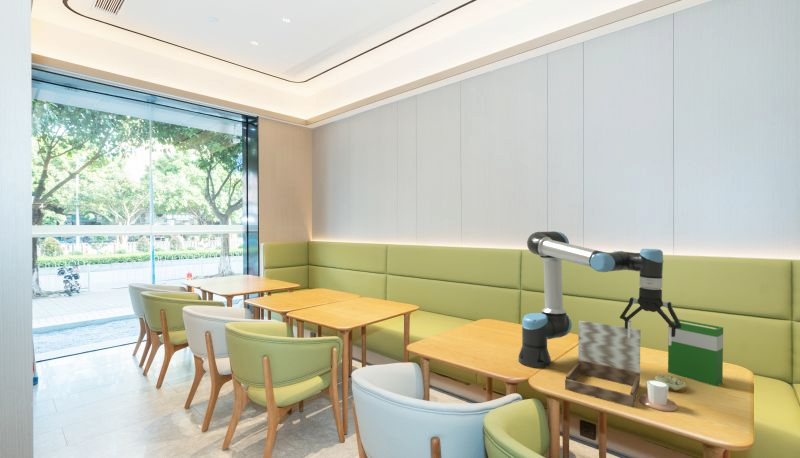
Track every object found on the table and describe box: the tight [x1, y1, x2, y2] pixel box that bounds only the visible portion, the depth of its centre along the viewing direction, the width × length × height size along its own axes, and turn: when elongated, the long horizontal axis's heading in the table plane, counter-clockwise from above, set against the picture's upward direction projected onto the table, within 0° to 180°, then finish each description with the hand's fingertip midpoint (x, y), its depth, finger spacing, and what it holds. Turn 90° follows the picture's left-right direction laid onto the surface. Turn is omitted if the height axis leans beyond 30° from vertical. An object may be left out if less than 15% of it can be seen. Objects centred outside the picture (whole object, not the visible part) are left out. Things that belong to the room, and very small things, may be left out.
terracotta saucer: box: [638, 393, 678, 412], centre depth 141 cm, size 12×12×1 cm
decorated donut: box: [653, 374, 687, 393], centre depth 155 cm, size 10×11×4 cm
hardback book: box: [667, 318, 724, 387], centre depth 165 cm, size 18×7×24 cm, turn 33°
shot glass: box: [646, 379, 669, 405], centre depth 141 cm, size 7×7×7 cm
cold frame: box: [564, 320, 641, 408], centre depth 154 cm, size 24×23×24 cm
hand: (648, 340), depth 147 cm, fingers open, 13 cm apart
